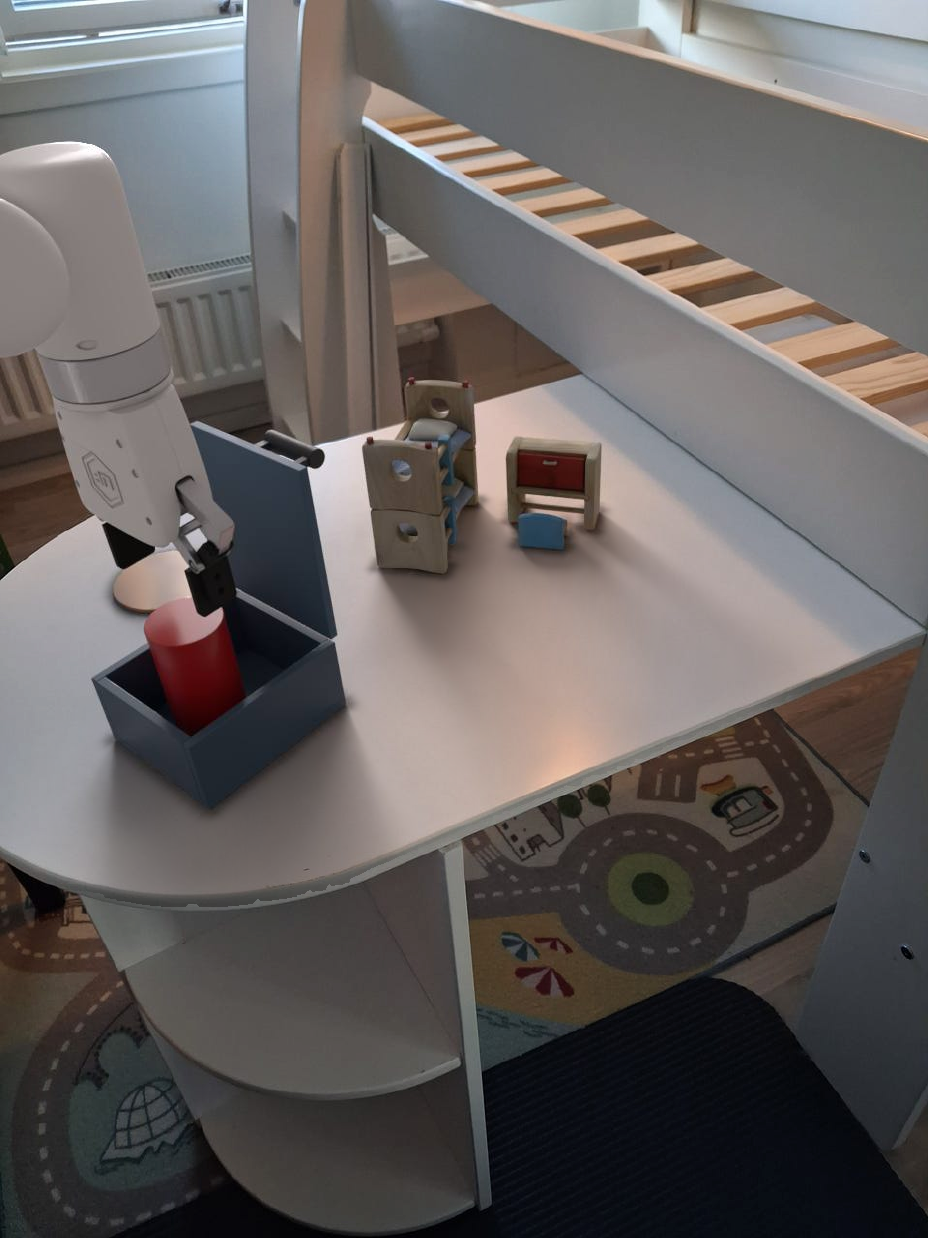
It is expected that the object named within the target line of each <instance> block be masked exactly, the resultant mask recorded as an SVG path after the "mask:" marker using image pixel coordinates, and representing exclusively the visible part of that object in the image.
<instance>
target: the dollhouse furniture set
mask: <svg viewBox="0 0 928 1238" xmlns="http://www.w3.org/2000/svg"><path fill="white" fill-rule="evenodd" d="M407 381H408V382H406V384H405V386H404V389H403V390H404V391H403V392H404V401H405V411H406V421H405V422H404V424H403V425H402V427H401V428H400V430H399V432H398V433H397V434H396V436H395V437H394V438H393V439H374V437H373V436H367V437H366V438H365V439H366V441H364V443H363V444H362V446H361V452H362V460H363V467H364V474H365V481H366V482H365V483H366V489H367V495H368V503H369V508H370V509H371V510H370V520H371V527H372V535H373V542H374V550H375V558H376V565H377V567H378V568H383V569H415V570H420V571H425V572H430V573H433V574H434V573H435V574H442V575H444V574H446V573H447V571H448V568H449V562H448V549H449V547H448V546H449V545H451V546H453V545H454V546H455V545H456V543H458V542H457V541H458V528H457V527H458V526H457V521H458V519H459V516H460V514H461V511H462V509H463V508H464V507H465V506H477V505H478V502H479V483H478V481H479V480H478V470H477V468H478V467H477V450H476V449H477V448H476V445H477V433H476V432H477V431H476V417H475V416H476V415H475V396H474V386H473V385H471V384H469V382H468V380H463V381H462V382H456V381H449V380H435V379H427V380H415V377H412V376H411V377H408V380H407ZM434 399H441V400H442V401H444V402H445V403H446V405H447V407H448V411H446V412H439V411H437V410H435V408H434V407H433V405H432V400H434ZM602 446H603V445H602V443H601V442H596V441H592V442H591V441H579V440H566V439H553V438H540V437H528V436H527V437H526V436H525V437H524V436H518V435H517V436H514V437H513V439H512V441H511V442H510V444H509V447H508V449H507V450H506V455H505V468H506V469H505V475H506V479H505V480H506V500H507V501H506V503H507V505H506V506H507V521H508V522H509V523H517V531H518V546H519V547H520V546H521V547H527V548H537V549H547V550H548V549H549V550H557V551H562V550H564V547H565V537H567V536H568V519H565V518H562V517H561V516H557V515H553V514H550V513H544V512H543V513H542V512H541V513H540V512H528V513H523V511H524V509H531V510H539V511H540V510H541V511H553V512H559V513H560V512H561V513H571V514H580V515H581V514H582V515H583V530H585V531H594V530H595V527H596V524H597V520H598V517H599V513H600V511H601V510H600V507H601V506H600V505H601V475H602ZM526 495H529V496H530V495H531V496H540V497H541V496H542V497H550V498H551V497H552V498H562V499H573V500H580V501H583V503H584V505H583V507H577V506H569V505H568V506H567V505H557V504H547V503H539V502H538V503H536V502H529V501H527V500H526V499H527V497H526Z"/></svg>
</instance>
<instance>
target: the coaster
mask: <svg viewBox="0 0 928 1238" xmlns="http://www.w3.org/2000/svg"><path fill="white" fill-rule="evenodd" d="M187 568H189V566H188V564H187V563H186V562H185V560H184V559H183V557H182V556H181V554H180V553H179V552H178V550H167V551H161V552H157V553H152V554H151V555H149V556H147V557H145V558H144V559H142V560H140V561H139V562H137V563H135V564H133V565H132V566H130V567H128V568H126V569H122V571H121V572H120V573H119V575H117V577H116V579H115V581H114V583H113V586H112V593H113V596H114V599H115V600H116V602H117V603H118V604H119V605H120V606H121V607H123V608H124V609H127V610H129V611H132V612H137V613H143V614H144V613H145V614H151V613H152V612H153V611H155V610H156V609H157V608H159V607H160V606H162V605H164V604H166V603H168V602H170V601H173V600H176V599H180V598H185V597H192V595H191V592H190V588H189V585H188V582H187V579H186V575H185V572H184V570H186V569H187Z"/></svg>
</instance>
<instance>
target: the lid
mask: <svg viewBox="0 0 928 1238" xmlns="http://www.w3.org/2000/svg"><path fill="white" fill-rule="evenodd" d="M189 424H190V426H191V429H192V432H193V434H194V437H195V440H196V443H197V446H198V449H199V452H200V455H201V458H202V461H203V464H204V467H205V471H206V474H207V478H208V481H209V485H210V489H211V493H212V498H213V501H214V502H215V503H216V504H217V505H218V506H219V507H220V508H221V509H222V510H223V511H224V512H225V513H226V514H227V515H228V516H229V517H230V518H231V519H232V520H233V522H234V525H235V528H234V534H233V539H232V540H233V543H234V546H233V548H232V549H231V550H230V551H231V553H230V554H229V555H228V556H227V557H228V560H229V564H230V568H231V572H232V575H233V579H234V583H235V586H236V589H238V590H240V591H242V592H244V593H246V594H248V595H250V596H251V597H253V598H255V599H257V600H259V601H261V602H262V603H264V604H266V605H268V606H270V607H271V608H273V609H275V610H277V611H279V612H281V613H282V614H284V615H286V616H288V617H290V618H292V619H293V620H295V621H297V622H299V623H301V624H303V625H304V626H306V627H308V628H310V629H312V630H314V631H315V632H317V633H319V634H321V635H323V636H324V637H326V638H328V639H330V640H331V641H332V640H333V639H334V638H336V637H337V636H338V629H337V624H336V618H335V613H334V607H333V601H332V595H331V591H330V586H329V585H330V584H329V579H328V573H327V568H326V564H325V558H324V553H323V552H324V551H323V546H322V541H321V536H320V535H321V534H320V530H319V525H318V519H317V513H316V508H315V502H314V497H313V492H312V485H311V481H310V475H309V469H308V468H311V469H313V470H317V469H320V468H321V467H322V466H323V464H324V463H325V459H326V454H325V451H324V450H323V449H322V448H319V447H317V446H316V445H315V446H314V445H312V444H310V443H307V442H305V441H302V440H300V439H297V438H295V437H292V436H289V435H288V434H284V433H283V432H280V431H277V430H275V429H269V430H267V431H266V432H265V433H264V434H263V437H262V440H260V441H259V442H257V443H255V444H253V443H252V442H251V443H250V442H248V441H246V440H244V439H241V438H239V437H236V436H235V435H232V434H229V433H227V432H224V431H222V430H219V429H217V428H215V427H213V426H210V425H208V424H205V423H203V422H200V421H198V420H196V421H194V422H192V423H189Z"/></svg>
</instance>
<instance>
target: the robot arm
mask: <svg viewBox="0 0 928 1238" xmlns="http://www.w3.org/2000/svg"><path fill="white" fill-rule="evenodd" d="M34 349H35V352H36V355H37V359H38V361H39V364H40V366H41V368H42V373H43V375H44V378H45V380H46V384H47V386H48V388H49V391H50V394H51V397H52V403H53V408H54V413H55V418H56V422H57V426H58V430H59V433H60V437H61V441H62V445H63V448H64V451H65V454H66V458H67V461H68V464H69V468H70V470H71V474H72V477H73V480H74V483H75V486H76V489H77V492H78V495H79V497H80V500H81V503H82V505H83V506H84V508H86V509H87V510H88V511H89V512H90V513H91V514H92V515H94V516H95V517H96V518H97V519H98V520H99V521H100V522H101V523H102V524H101V527H102V530H103V532H104V535H105V538H106V540H107V543H108V546H109V550H110V552H111V554H112V558H113V561H114V563H115V565H116V567H117V568H119V569H121V570H125V569H126V568H128V567H130V566H132V565H133V564H135V563H137V562H139V561H140V560H142V559H144V558H145V557H147V556H150V555H153V554H155V551H156V548H159V549H162V548H163V549H164V548H166V547H168V546H169V545H170V544H171V543H172V545H173V546H174V547H175V548H176V551H178V552H179V553H180V554H181V556H182V557H183V559H184V560H185V562H186V563H187V564H188V566H189V568H187V569H186V570H184V572H185V575H186V579H187V582H188V585H189V588H190V592H191V595H192V598H193V601H194V605H195V608H196V611H197V613H198V614H199V615H201V616H202V617H207V616H208V615H210V614H211V613H213V612H214V611H216V610H218V609H219V608H221V607H222V606H224V605H225V604H227V603H228V602H230V601H231V600H233V599H234V598H235V597H236V595H237V590H236V589H237V588H236V586H235V583H234V579H233V575H232V572H231V568H230V564H229V560H228V557H227V556H228V555H229V554H230V553H231V551H230V550H231V549H232V548H233V546H234V543H233V540H232V539H233V534H234V528H235V525H234V522H233V520H232V519H231V518H230V517H229V516H228V515H227V514H226V513H225V512H224V511H223V510H222V509H221V508H220V507H219V506H218V505H217V504H216V503H215V502H214V501H213V498H212V493H211V489H210V485H209V481H208V478H207V474H206V471H205V467H204V464H203V461H202V458H201V455H200V452H199V449H198V446H197V443H196V440H195V437H194V434H193V432H192V429H191V426H190V424H191V423H190V421H189V419H188V416H187V414H186V412H185V409H184V406H183V404H182V402H181V399H180V397H179V395H178V393H177V390H176V388H175V386H174V385H173V384H172V382H173V380H174V376H175V374H174V369H173V366H172V363H171V359H170V355H169V350H168V348H167V344H166V341H165V336H164V333H163V330H162V326H161V322H160V317H159V314H158V311H157V307H156V303H155V300H154V296H153V293H152V289H151V284H150V281H149V278H148V274H147V270H146V267H145V263H144V260H143V256H142V252H141V248H140V245H139V241H138V237H137V234H136V230H135V225H134V221H133V219H132V215H131V211H130V208H129V204H128V200H127V197H126V193H125V189H124V185H123V182H122V179H121V176H120V173H119V170H118V168H117V166H116V164H115V162H114V161H113V159H112V158H111V156H110V155H109V154H108V153H106V152H105V151H104V150H103V149H101V148H99V147H97V146H96V145H93V144H89V143H88V144H87V143H83V142H76V141H62V142H61V141H60V142H59V141H58V142H48V143H41V144H34V145H29V146H25V147H21V148H17V149H13V150H10V151H8V152H4V153H2V154H0V359H5V358H10V357H16V356H20V355H23V354H25V353H27V352H31V351H33V350H34ZM186 514H188V515H190V516H192V517H193V519H191V520H189V521H188V522H186V523H184V524H182V525H181V517H182V516H184V515H186ZM103 522H104V523H103ZM180 525H181V526H180ZM198 529H199V530H200V532H201V533H202V535H203V536H204V537H205V539H206V541H205V542H203V543H202V544H201V546H199V548H198V549H197V550H196V549H195V548H194V547H193V545H192V543H191V542H190V541H189V539H188V537H187V536H188V535H190V534H191V533H193V532H195V531H197V530H198Z"/></svg>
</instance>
